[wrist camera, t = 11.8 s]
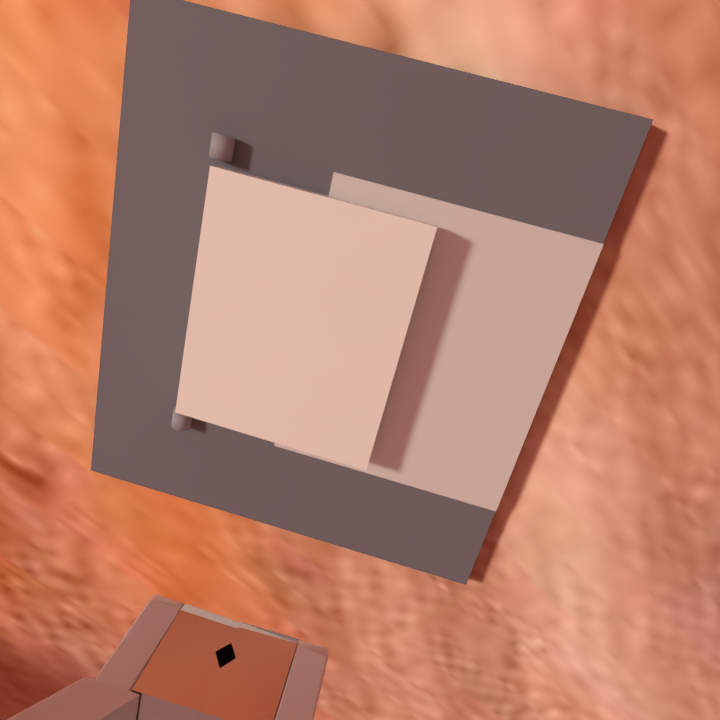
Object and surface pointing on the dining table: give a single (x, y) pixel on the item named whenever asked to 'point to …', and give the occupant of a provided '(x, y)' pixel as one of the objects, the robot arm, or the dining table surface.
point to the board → (373, 189)
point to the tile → (298, 314)
